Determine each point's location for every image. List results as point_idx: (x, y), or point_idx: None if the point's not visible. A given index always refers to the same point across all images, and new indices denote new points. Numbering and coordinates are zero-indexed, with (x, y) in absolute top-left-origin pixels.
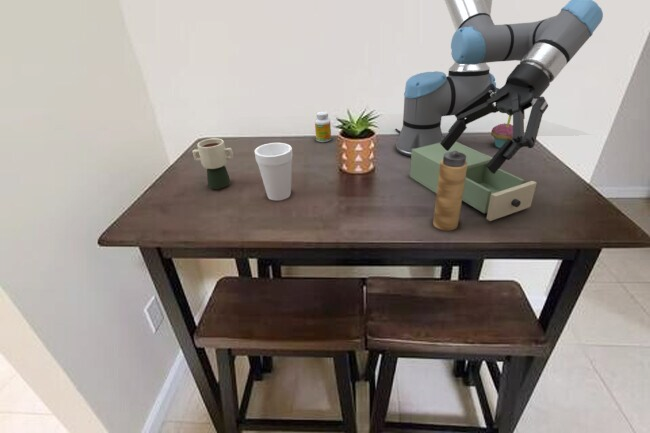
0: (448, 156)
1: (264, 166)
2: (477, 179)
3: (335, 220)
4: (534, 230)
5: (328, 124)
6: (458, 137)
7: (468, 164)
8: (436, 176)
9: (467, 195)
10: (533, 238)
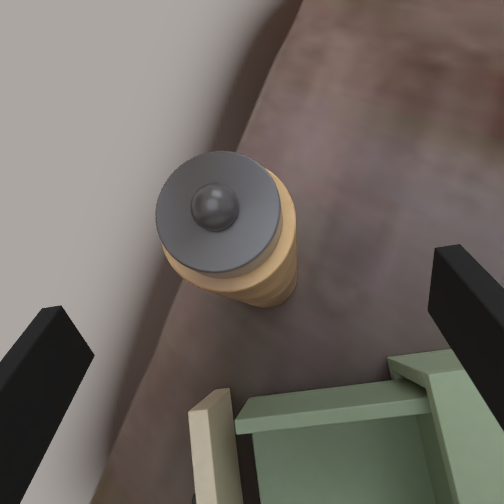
0: (219, 169)
1: None
2: None
3: (380, 28)
4: (148, 488)
5: None
6: (488, 403)
7: (470, 499)
8: None
9: (329, 393)
10: (122, 453)
